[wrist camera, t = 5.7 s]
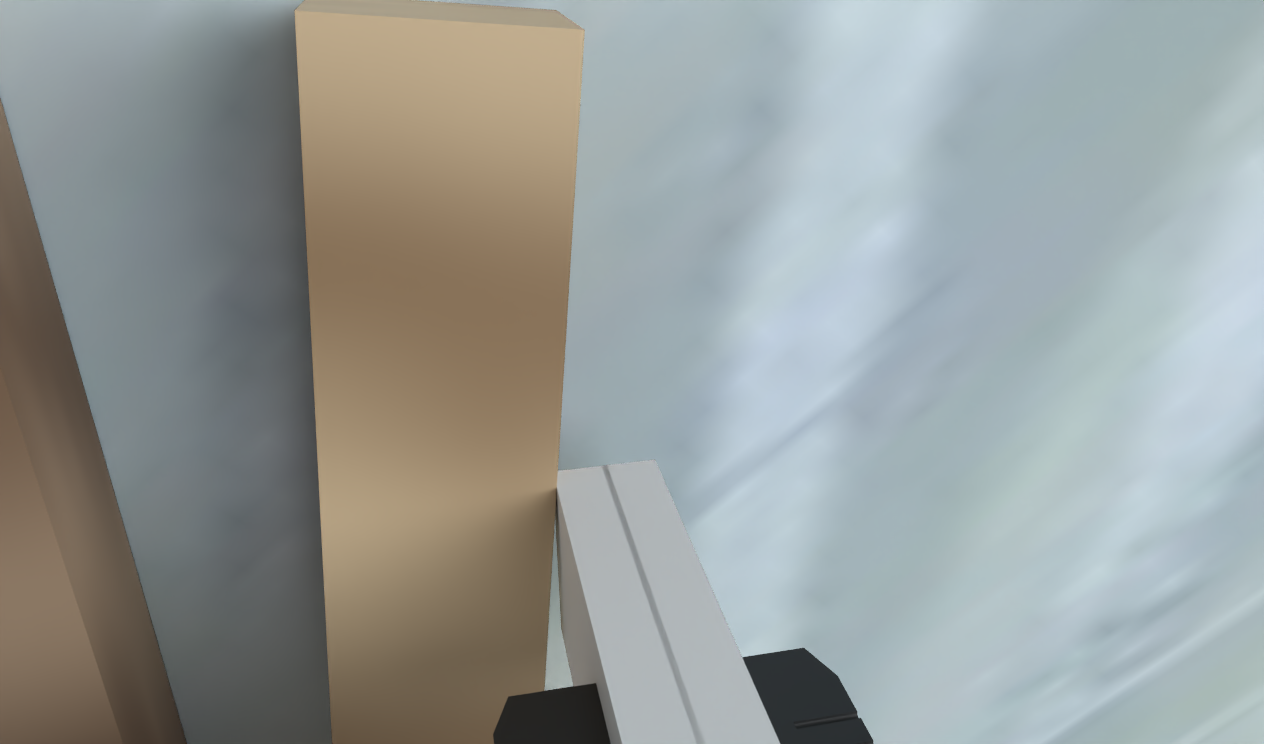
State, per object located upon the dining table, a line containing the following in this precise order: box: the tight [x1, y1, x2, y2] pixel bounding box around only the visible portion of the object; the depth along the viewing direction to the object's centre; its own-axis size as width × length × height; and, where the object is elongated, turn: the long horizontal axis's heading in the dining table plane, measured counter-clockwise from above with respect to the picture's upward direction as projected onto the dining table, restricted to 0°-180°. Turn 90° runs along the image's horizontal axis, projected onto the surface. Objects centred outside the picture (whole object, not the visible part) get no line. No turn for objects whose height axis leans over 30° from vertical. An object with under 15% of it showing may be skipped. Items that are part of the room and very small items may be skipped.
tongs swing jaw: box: [295, 0, 585, 744], centre depth 16 cm, size 22×3×2 cm, turn 175°
